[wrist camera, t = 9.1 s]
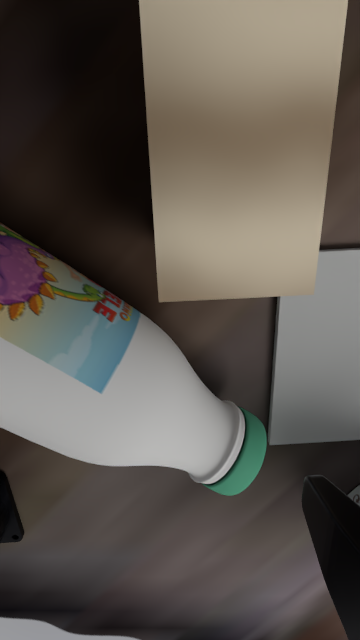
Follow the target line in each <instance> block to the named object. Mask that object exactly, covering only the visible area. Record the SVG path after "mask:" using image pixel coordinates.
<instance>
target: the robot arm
mask: <svg viewBox="0 0 360 640" xmlns="http://www.w3.org/2000/svg"><path fill="white" fill-rule="evenodd" d="M302 508H303V512H304V515H305V518H306V522H307V525H308V528H309V531H310V535H311V538H312V541H313V544H314V548H315V551H316V554H317V558H318V561H319V564H320V567H321V570H322V574H323V577H324V580H325V582H326V585H327V588H328V590H329V593H330V595H331V598H332V600H333V603H334V605H335V608H336V610H337V612H338V615H339V617H340V620H341V622H342V625H343V627H344V629H345V632H346V634H347V637H348V639H349V640H360V506H359V505H358V504H357V503H355V502H354V501H353V500H352V499H351V498H349V497H348V496H347V495H346V494H345V493H344V492H342V491H341V490H340V489H339V488H338V487H336V486H335V485H334V484H333V483H332V482H331V481H329V480H328V479H327V478H326V477H324V476H322V475H309V476H306V477H305V479H304V485H303V493H302ZM23 535H24V530H23V527H22V523H21V520H20V517H19V514H18V511H17V508H16V504H15V501H14V498H13V495H12V492H11V489H10V485H9V482H8V479H7V477H6V475H5V474H3V473H0V543H8V542H19V541H21V540H22V538H23Z"/></svg>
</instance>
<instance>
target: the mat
mask: <svg viewBox="0 0 360 640" xmlns="http://www.w3.org/2000/svg"><path fill="white" fill-rule="evenodd" d="M348 440H360V248H349V249H329V250H319V255H318V263H317V272H316V280H315V289H314V295H298V296H278V297H277V311H276V326H275V340H274V355H273V369H272V384H271V398H270V413H269V428H268V442H269V445H281V444H298V443H315V442H331V441H348Z"/></svg>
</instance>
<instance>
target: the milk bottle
mask: <svg viewBox="0 0 360 640" xmlns="http://www.w3.org/2000/svg"><path fill="white" fill-rule="evenodd" d="M0 427H1V428H4V429H6V430H8V431H10V432H12V433H14V434H17V435H19V436H21V437H23V438H25V439H28V440H30V441H32V442H34V443H37V444H39V445H42V446H44V447H46V448H49V449H51V450H54V451H56V452H58V453H61V454H63V455H66V456H68V457H71V458H75V459H78V460H81V461H84V462H88V463H93V464H98V465H107V466H144V465H151V466H165V467H172V468H177V469H181V470H184V471H187V472H188V473H189V475H190V477H191V478H192V480H194V481H195V482H198V483H202V484H203V485H204V486H206V487H207V488H209V489H211V490H213V491H215V492H217V493H220V494H222V495H229V496H231V495H236V494H238V493H240V492H242V491H243V490H245V489H246V488H247V487H248V486H249V485H250V484H251V482H252V481H253V480H254V479H255V477H256V476H257V474H258V472H259V470H260V468H261V466H262V463H263V460H264V457H265V452H266V444H267V437H266V431H265V428H264V425H263V424H262V422H261V421H260V420H259V419H258V418H257V417H256V416H255V415H253V414H252V413H250V412H249V411H247V410H245V409H243V408H241V407H238V406H236V405H235V404H234V403H233V402H231V401H227V400H226V401H221V400H220V399H218V398H217V397H216V396H215V395H214V394H213V393H212V392H211V391H210V390H209V389H208V388H207V387H206V386H205V385H204V384H203V382H202V381H201V380H200V379H199V377H198V376H197V374H196V373H195V372H194V370H193V369H192V367H191V366H190V364H189V362H188V361H187V359H186V358H185V356H184V355H183V353H182V352H181V350H180V349H179V348H178V346H177V345H176V344H175V343H174V342H173V340H172V339H171V338H170V337H169V336H168V335H167V334H166V333H165V332H164V331H163V330H162V329H161V328H160V327H159V326H157V325H156V324H155V323H154V322H152V321H151V320H150V319H149V318H148V317H146V316H145V315H143V314H142V313H140V312H139V311H137V310H136V309H134V308H133V307H132V306H130V305H129V304H127V303H126V302H124V301H123V300H121V299H120V298H118V297H117V296H115V295H114V294H112V293H111V292H109V291H107V290H106V289H104V288H103V287H101V286H100V285H98V284H97V283H95V282H93V281H92V280H90V279H89V278H87V277H86V276H84V275H82V274H81V273H79V272H78V271H76V270H75V269H73V268H72V267H70V266H68V265H67V264H65V263H64V262H62V261H61V260H59V259H57V258H56V257H54V256H53V255H51V254H50V253H48V252H46V251H45V250H43V249H42V248H40V247H38V246H37V245H35V244H34V243H32V242H30V241H29V240H27V239H26V238H24V237H23V236H21V235H19V234H18V233H16V232H15V231H13V230H11V229H10V228H8V227H7V226H5V225H4V224H2V223H0Z"/></svg>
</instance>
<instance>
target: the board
mask: <svg viewBox="0 0 360 640" xmlns="http://www.w3.org/2000/svg"><path fill="white" fill-rule="evenodd" d="M347 5H348V0H139V7H140V23H141V38H142V53H143V68H144V83H145V99H146V114H147V129H148V144H149V159H150V175H151V190H152V205H153V220H154V235H155V250H156V266H157V281H158V296H159V302H173V301H194V300H215V299H235V298H256V297H277V296H298V295H314V289H315V280H316V272H317V263H318V255H319V246H320V237H321V229H322V220H323V212H324V203H325V194H326V186H327V177H328V169H329V160H330V151H331V143H332V134H333V125H334V117H335V108H336V100H337V91H338V82H339V74H340V65H341V57H342V48H343V39H344V31H345V22H346V13H347Z"/></svg>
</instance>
